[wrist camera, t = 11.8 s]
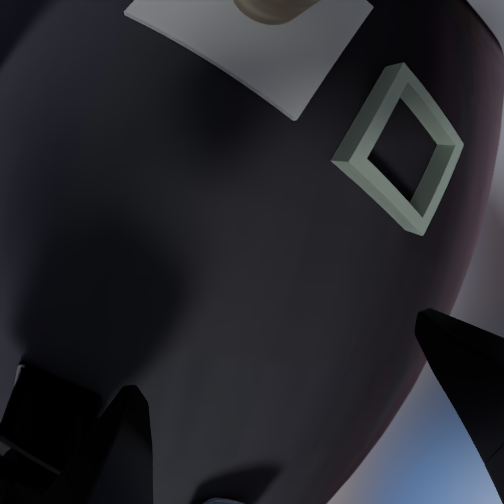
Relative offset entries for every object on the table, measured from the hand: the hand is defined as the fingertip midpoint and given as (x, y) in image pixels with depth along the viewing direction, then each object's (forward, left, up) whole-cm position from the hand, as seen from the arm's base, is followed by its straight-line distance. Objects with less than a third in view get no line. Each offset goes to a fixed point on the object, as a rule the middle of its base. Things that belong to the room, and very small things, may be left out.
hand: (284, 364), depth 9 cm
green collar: (+8, +13, -10) cm, 19 cm away
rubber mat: (-6, +15, -10) cm, 20 cm away
